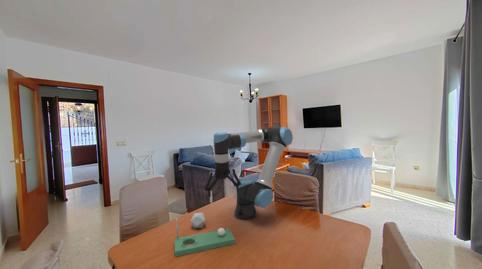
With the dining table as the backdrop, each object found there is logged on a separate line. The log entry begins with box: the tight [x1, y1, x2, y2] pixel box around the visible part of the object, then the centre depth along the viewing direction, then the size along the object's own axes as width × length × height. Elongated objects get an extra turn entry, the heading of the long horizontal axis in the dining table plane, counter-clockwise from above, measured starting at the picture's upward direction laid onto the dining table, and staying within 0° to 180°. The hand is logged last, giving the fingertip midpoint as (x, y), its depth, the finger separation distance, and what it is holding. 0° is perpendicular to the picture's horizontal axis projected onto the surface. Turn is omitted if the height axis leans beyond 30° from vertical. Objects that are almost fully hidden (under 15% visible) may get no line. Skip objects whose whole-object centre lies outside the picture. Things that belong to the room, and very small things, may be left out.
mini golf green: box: [174, 217, 236, 258], centre depth 109 cm, size 30×12×14 cm, turn 108°
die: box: [190, 212, 207, 229], centre depth 127 cm, size 8×9×10 cm
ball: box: [217, 227, 225, 236], centre depth 112 cm, size 4×4×4 cm
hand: (223, 200), depth 113 cm, fingers open, 13 cm apart
